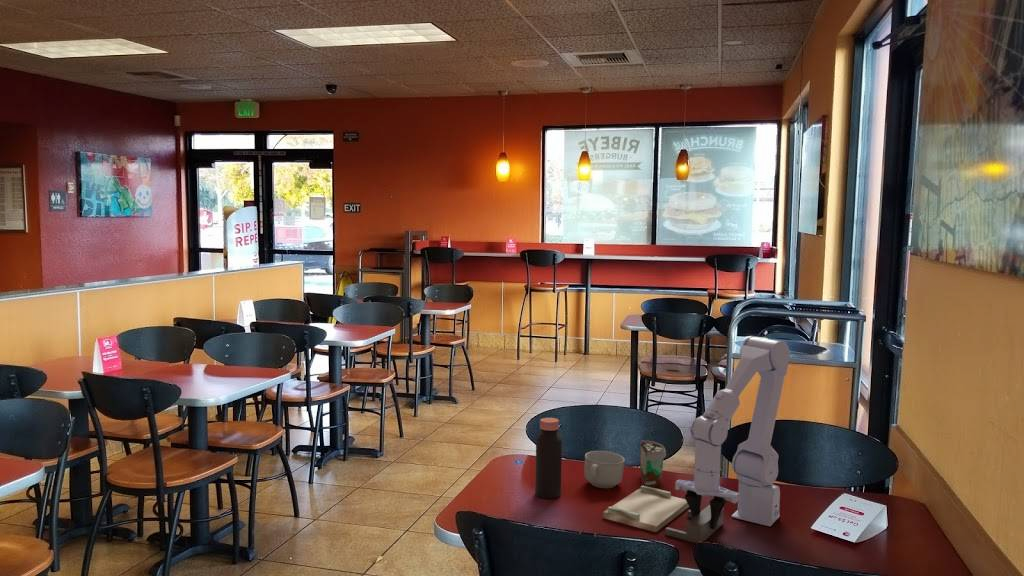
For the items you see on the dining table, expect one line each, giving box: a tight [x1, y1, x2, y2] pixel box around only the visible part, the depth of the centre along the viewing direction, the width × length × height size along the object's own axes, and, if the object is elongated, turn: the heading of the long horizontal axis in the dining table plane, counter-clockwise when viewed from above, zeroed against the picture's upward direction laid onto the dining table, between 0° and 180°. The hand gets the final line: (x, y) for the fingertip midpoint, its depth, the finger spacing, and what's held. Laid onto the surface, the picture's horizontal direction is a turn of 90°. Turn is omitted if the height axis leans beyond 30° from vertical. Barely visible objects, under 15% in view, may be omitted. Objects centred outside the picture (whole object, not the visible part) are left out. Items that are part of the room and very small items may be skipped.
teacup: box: [583, 450, 626, 489], centre depth 207 cm, size 14×11×8 cm
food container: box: [639, 439, 667, 488], centre depth 211 cm, size 12×6×10 cm, turn 179°
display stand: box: [602, 484, 689, 533], centre depth 190 cm, size 14×20×3 cm
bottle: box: [534, 417, 563, 500], centre depth 200 cm, size 7×7×20 cm
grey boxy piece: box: [664, 504, 724, 544], centre depth 180 cm, size 8×14×4 cm, turn 145°
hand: (705, 525), depth 178 cm, fingers closed on grey boxy piece, 3 cm apart
